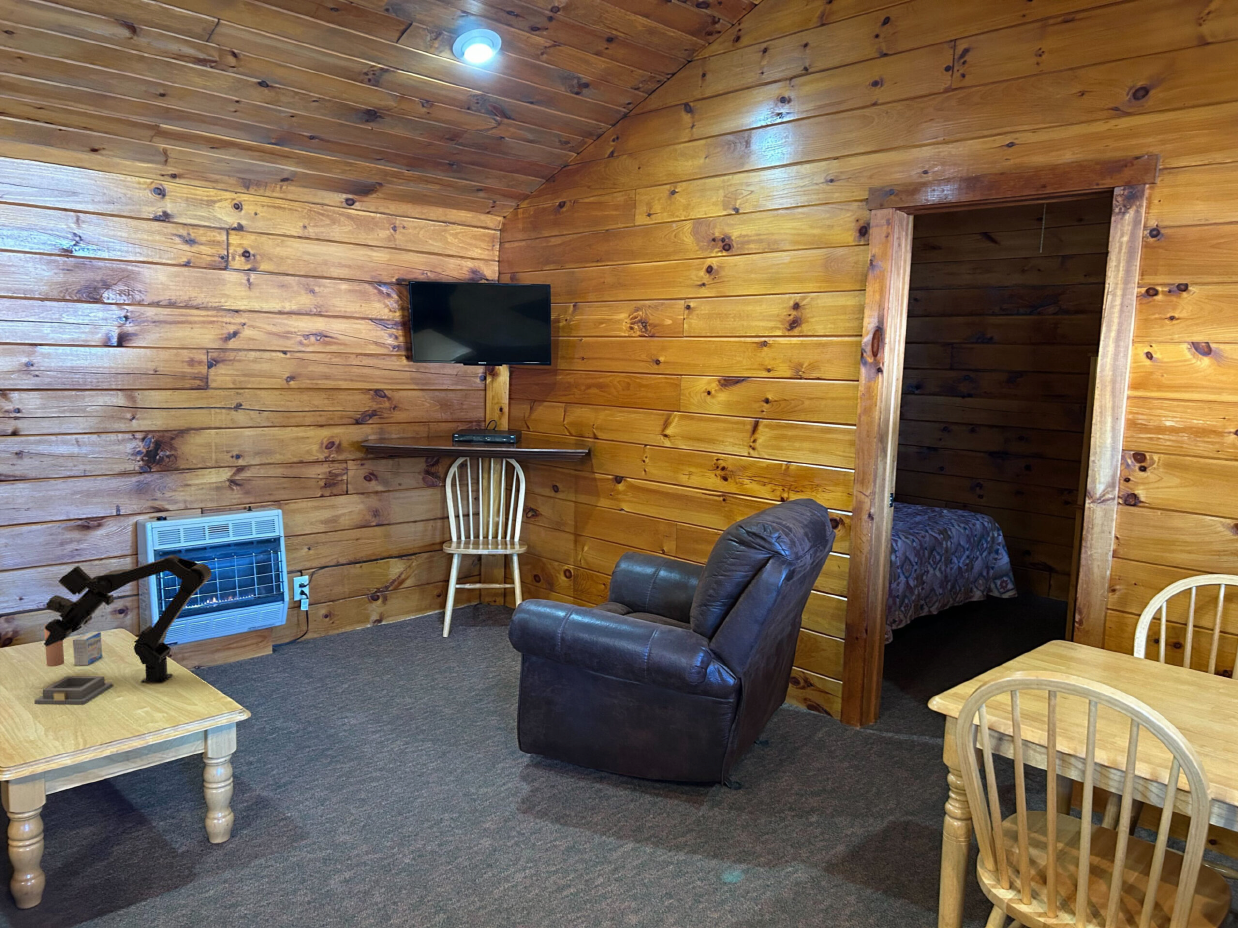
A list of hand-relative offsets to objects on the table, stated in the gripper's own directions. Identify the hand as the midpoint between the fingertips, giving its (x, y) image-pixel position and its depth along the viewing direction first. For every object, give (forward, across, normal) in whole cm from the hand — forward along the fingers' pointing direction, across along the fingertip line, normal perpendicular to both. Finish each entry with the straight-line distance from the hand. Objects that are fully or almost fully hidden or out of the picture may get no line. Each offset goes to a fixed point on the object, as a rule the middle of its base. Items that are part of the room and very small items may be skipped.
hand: (48, 642), depth 263 cm
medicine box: (+7, -19, +11) cm, 23 cm away
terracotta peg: (+4, 0, +6) cm, 7 cm away
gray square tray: (+1, +11, +16) cm, 20 cm away
